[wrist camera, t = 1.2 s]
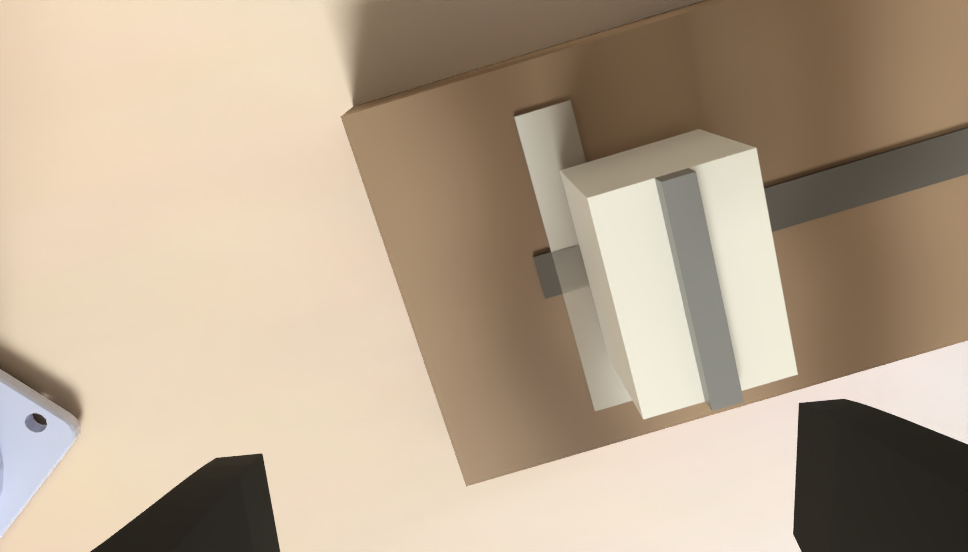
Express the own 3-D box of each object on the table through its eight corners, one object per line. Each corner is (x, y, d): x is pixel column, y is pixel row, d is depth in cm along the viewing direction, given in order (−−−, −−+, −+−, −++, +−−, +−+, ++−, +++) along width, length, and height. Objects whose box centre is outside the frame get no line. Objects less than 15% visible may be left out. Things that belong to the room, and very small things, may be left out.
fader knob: (608, 358, 18) (648, 429, 14) (560, 170, 16) (591, 202, 13) (737, 319, 18) (807, 383, 14) (699, 129, 16) (766, 150, 13)
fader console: (462, 435, 21) (466, 488, 19) (352, 107, 18) (340, 117, 16) (1117, 244, 21) (1211, 271, 18) (1101, -120, 18) (1208, -145, 16)
